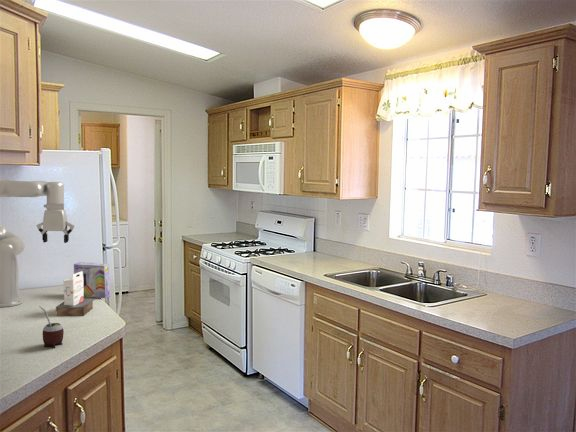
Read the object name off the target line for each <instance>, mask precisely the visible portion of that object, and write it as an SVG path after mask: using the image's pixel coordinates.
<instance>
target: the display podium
mask: <svg viewBox="0 0 576 432" xmlns="http://www.w3.org/2000/svg"><path fill="white" fill-rule="evenodd" d="M93 302H94V299H84V301H83V302H81V303H79V304H77V305H75V306H67V305H64V301H62V302H61V303H59V304H58V305H56V306H55V309H56V310H55V313H56V317H57V316H58V317H59V316H61V317H62V316H63V317H65V316H66V317H69V316H70V317H73V316H74V317H84V316H85V315H87V314H88V313H89V312H90V311H91V310H92V309H93V307H94V306H93V304H94V303H93Z"/></svg>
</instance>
